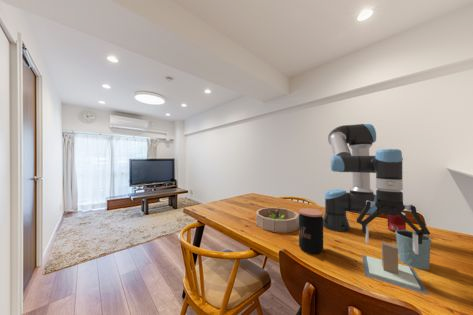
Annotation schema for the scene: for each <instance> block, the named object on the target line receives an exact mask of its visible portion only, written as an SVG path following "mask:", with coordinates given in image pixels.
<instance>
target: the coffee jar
mask: <svg viewBox="0 0 473 315" xmlns="http://www.w3.org/2000/svg"><path fill="white" fill-rule="evenodd" d="M298 215H299V227H298V245H299V246H298V247H299V248H300V250H301V251H302V252H304V253H306V254H308V255H315V256H316V255H320V254H322V253H323V252H324V226H323V218H324V212H323V211H322V210H320V209H315V208H309V207H308V208H307V207H305V208H300V209H299V210H298Z"/></svg>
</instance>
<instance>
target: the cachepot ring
mask: <svg viewBox="0 0 473 315" xmlns="http://www.w3.org/2000/svg"><path fill="white" fill-rule="evenodd" d="M276 209H278V210H279V209H280V210H281V212H280V211H279V214H280V217H281V216H282V215H284V217H283V218H288V219H286V220H281V219H271V218H266V217H270V215H271V216H273V215H275V213H277V212H276ZM269 211H274V212H275V213H274V212H271V213H269ZM255 213H256V214H255V221H256V222H255V224H256V226H258V228H260V229H262V230H265V231H268V232H273V233H290V232H294V231H297V230H298V229H299V213H298V212H296V211H295V210H291V209H289V208H284V207H283V208H282V207H272V206H270V207H261V208H259V209H258V210H256V211H255ZM272 214H273V215H272Z"/></svg>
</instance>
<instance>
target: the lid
mask: <svg viewBox="0 0 473 315" xmlns="http://www.w3.org/2000/svg"><path fill="white" fill-rule="evenodd" d="M366 256H367V263H368V269H369V274H370V275H372V276H375V277H378V278H382V279H385V280H388V281H392V282H395V283H398V284H402V285H405V286H409V287H412V288H415V289H419V290H421V288H420V286H419V284H418V282H417V280H416V279H415V277H414V275H413V273H412V271H411V270H410V268H409V267H410V266H409V265H406V264H405V265H404V264H400V263H399V253H398V247H397V244H393V243H387V242H384V241H381V259H379V258H376V257H372V256H368V255H366Z"/></svg>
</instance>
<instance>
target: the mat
mask: <svg viewBox="0 0 473 315" xmlns="http://www.w3.org/2000/svg"><path fill="white" fill-rule="evenodd" d="M367 256H368V255H361V258H362V263H363V264H362V265H363V271H364V272H363V273H364V276H365V277H368V278H371V279H374V280H377V281H381V282H385V283H386V284H391V285H394V286H398V287H400V288H403V289H406V290H411V291H413V292H416V293H417V292H418V293H420V294H423V295H427V296H430V294H429V293H428V291H427V289H426V287H425V285H424V284H423V283H422V281H421V278H420V277H419V276H418V274H417V272H416V270H415V268H414V267H411V266H409V268H410V270H411V271H412V273H413V275H414V277H415V279H416V280H417V282H418V284H419V286H420V288H421V290H419V289H415V288H412V287H409V286H405V285H402V284H398V283H395V282H392V281H388V280H385V279H382V278H378V277H375V276H372V275H370V274H369V269H368V263H367Z"/></svg>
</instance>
